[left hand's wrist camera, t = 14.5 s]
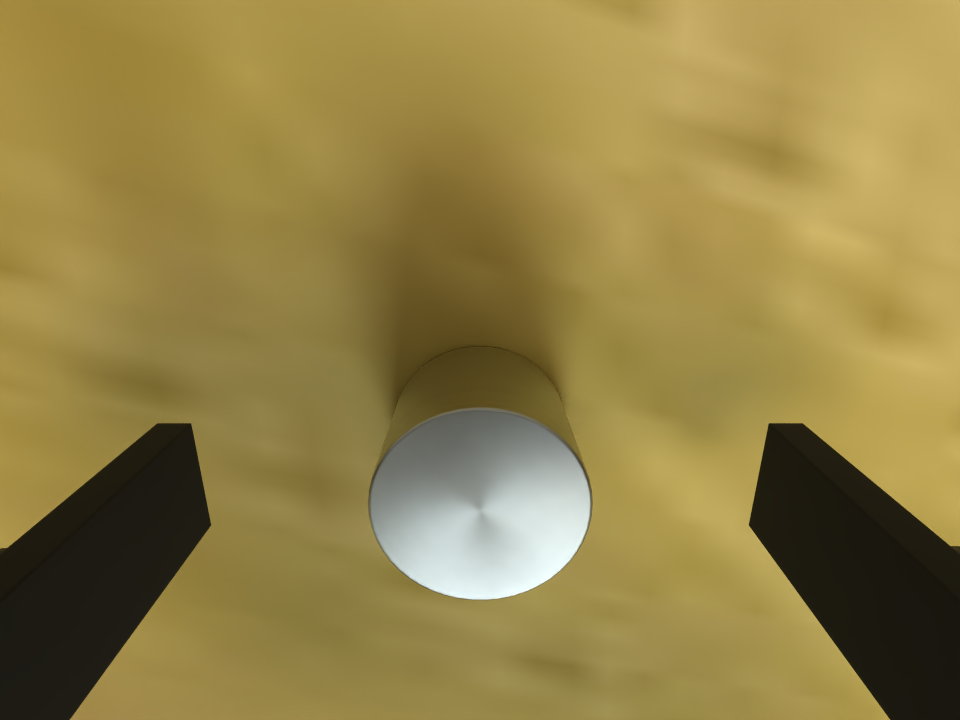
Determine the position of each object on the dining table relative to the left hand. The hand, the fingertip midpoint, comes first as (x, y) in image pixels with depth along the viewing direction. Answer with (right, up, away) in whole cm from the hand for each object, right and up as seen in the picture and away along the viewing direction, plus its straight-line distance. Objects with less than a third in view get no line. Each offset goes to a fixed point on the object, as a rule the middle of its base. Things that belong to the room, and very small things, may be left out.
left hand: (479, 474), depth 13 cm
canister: (0, +1, +3) cm, 3 cm away
